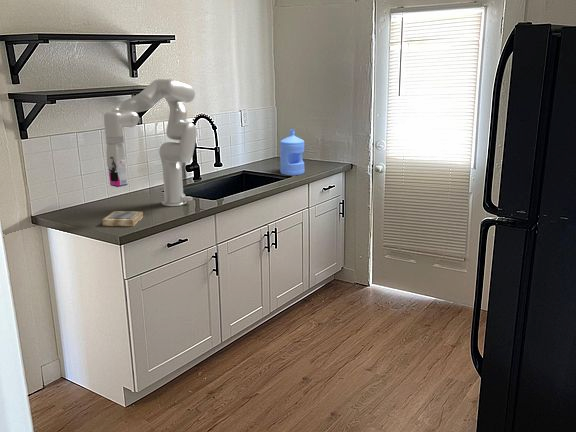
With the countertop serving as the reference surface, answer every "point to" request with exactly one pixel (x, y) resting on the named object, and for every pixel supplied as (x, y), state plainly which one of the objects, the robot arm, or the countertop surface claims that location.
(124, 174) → the supplement box
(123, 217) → the square wooden tray
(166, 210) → the countertop surface
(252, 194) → the countertop surface
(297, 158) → the water jug
